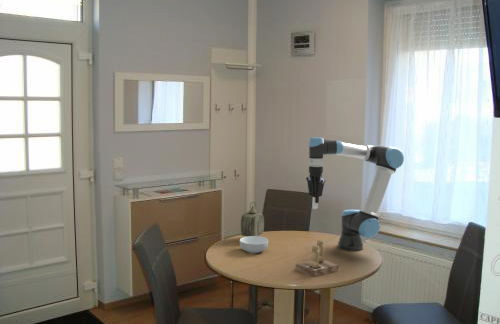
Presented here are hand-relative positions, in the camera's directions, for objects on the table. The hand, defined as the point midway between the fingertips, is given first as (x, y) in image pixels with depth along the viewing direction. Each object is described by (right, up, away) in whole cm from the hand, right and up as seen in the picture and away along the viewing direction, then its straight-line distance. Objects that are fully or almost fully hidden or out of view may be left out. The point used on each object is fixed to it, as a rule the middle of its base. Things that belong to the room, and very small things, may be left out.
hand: (315, 208), depth 274 cm
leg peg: (-3, -31, -19) cm, 37 cm away
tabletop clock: (-34, -24, +39) cm, 57 cm away
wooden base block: (-1, -31, -14) cm, 34 cm away
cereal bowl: (-33, -27, +18) cm, 46 cm away
